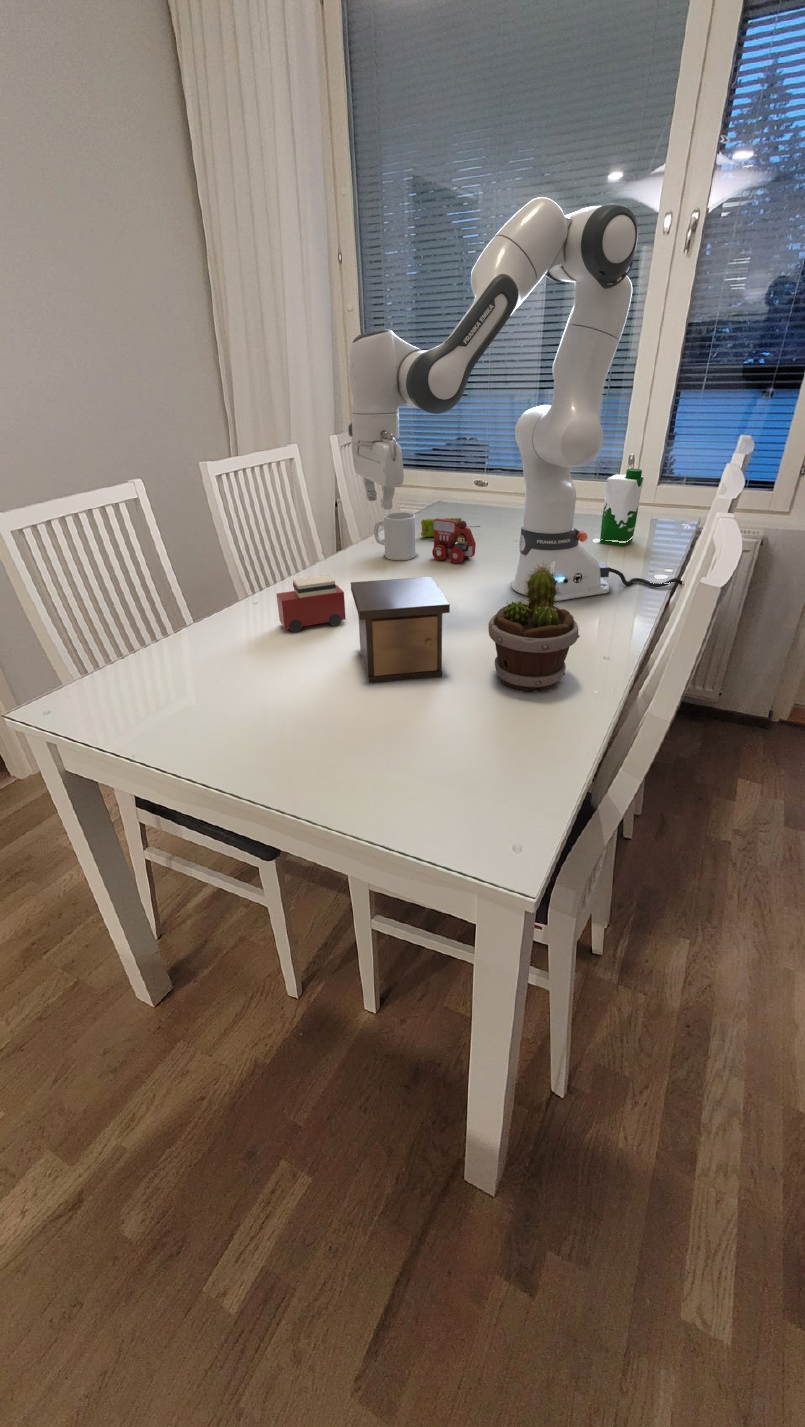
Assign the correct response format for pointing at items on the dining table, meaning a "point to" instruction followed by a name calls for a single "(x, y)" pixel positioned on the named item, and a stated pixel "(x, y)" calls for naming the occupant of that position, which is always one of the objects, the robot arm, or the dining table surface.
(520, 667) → the flowerpot
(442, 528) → the toy fire truck
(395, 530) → the mug
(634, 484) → the milk carton
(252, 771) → the dining table surface
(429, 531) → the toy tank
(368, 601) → the cabinet
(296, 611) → the car
